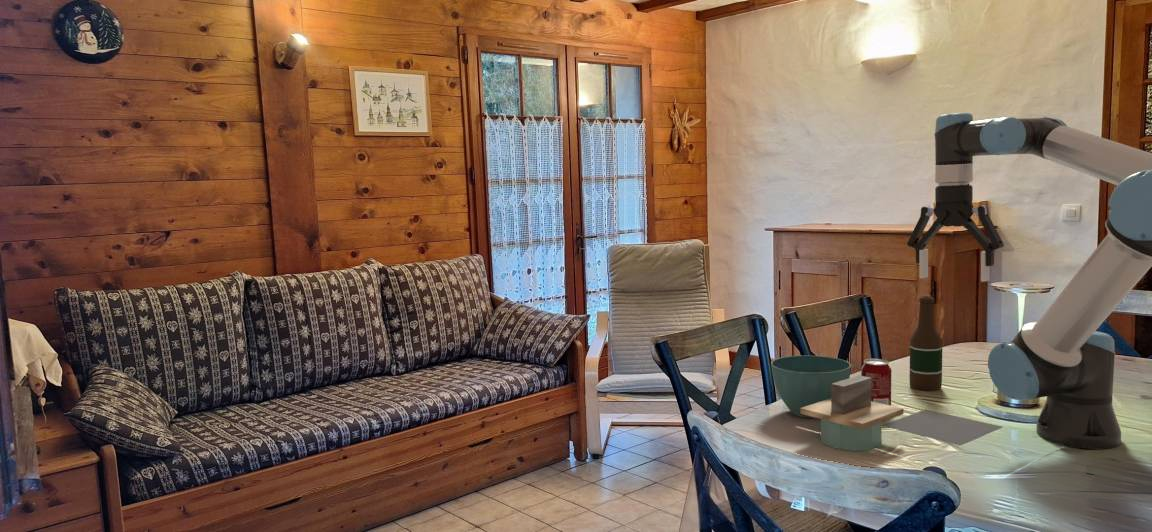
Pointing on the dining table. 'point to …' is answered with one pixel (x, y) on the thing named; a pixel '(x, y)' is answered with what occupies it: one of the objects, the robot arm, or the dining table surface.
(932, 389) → the beer bottle
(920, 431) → the mat
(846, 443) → the bowl
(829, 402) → the lid
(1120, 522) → the dining table surface
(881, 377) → the soda can
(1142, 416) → the dining table surface
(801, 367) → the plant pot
